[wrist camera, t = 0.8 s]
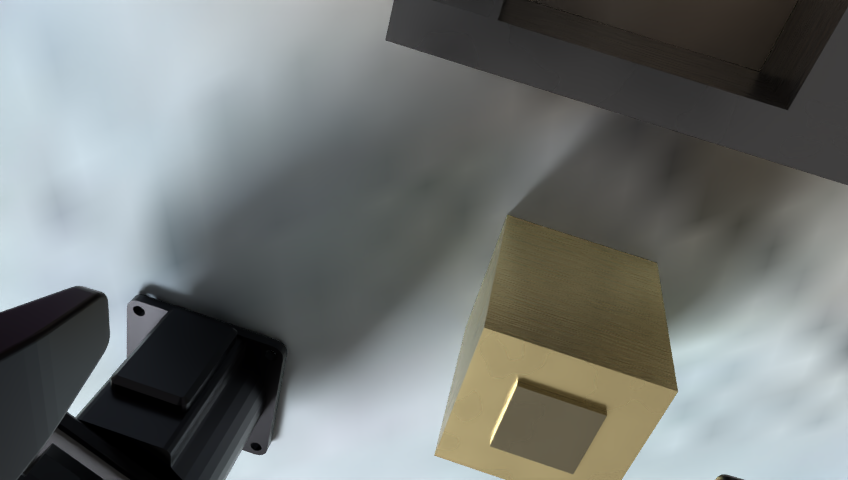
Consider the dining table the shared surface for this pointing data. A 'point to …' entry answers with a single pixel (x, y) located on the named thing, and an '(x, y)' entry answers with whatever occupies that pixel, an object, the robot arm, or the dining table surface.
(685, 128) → the grey rectangular tray
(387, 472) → the dining table surface
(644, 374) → the beige square block
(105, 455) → the robot arm
